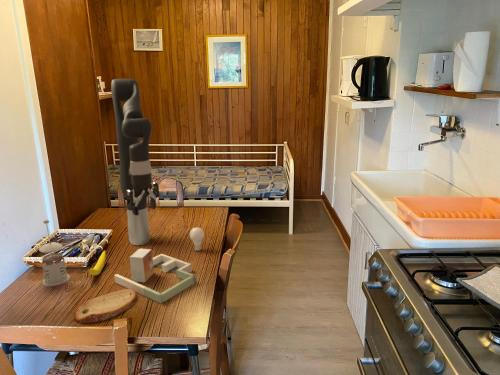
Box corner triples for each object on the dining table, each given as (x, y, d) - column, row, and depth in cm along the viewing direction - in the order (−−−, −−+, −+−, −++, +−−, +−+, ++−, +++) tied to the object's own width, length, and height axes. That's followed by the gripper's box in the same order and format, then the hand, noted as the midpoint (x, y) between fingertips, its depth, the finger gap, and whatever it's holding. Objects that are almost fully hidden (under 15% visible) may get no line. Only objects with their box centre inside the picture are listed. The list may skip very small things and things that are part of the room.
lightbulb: (207, 248, 175) (205, 226, 172) (201, 254, 170) (199, 231, 167) (194, 246, 177) (193, 224, 174) (188, 252, 172) (186, 229, 169)
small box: (145, 283, 146) (142, 257, 143) (131, 281, 147) (129, 256, 145) (154, 273, 154) (152, 248, 151) (141, 271, 155) (139, 248, 152)
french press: (42, 288, 144) (30, 226, 137) (42, 275, 154) (31, 216, 147) (70, 282, 148) (60, 221, 141) (69, 269, 158) (59, 212, 151)
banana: (109, 260, 165) (108, 247, 163) (94, 283, 147) (92, 268, 145) (102, 261, 165) (101, 247, 163) (87, 283, 147) (84, 268, 145)
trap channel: (115, 282, 147) (114, 275, 146) (160, 259, 165) (160, 253, 164) (161, 303, 133) (160, 295, 132) (205, 276, 151) (205, 269, 150)
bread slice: (140, 293, 140) (139, 284, 139) (126, 323, 123) (125, 313, 122) (90, 294, 140) (89, 285, 139) (69, 325, 122) (68, 315, 121)
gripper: (148, 166, 153) (152, 205, 158) (119, 174, 142) (123, 215, 146) (161, 169, 149) (165, 208, 154) (132, 177, 138) (136, 219, 142)
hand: (144, 211), depth 150 cm, fingers open, 8 cm apart
